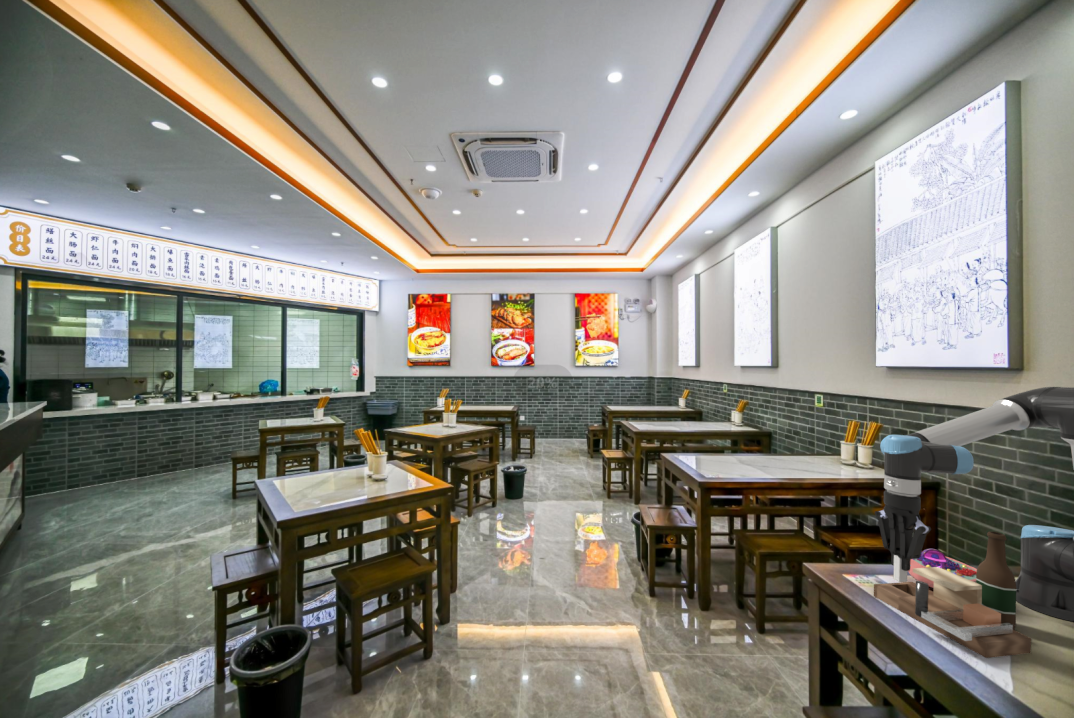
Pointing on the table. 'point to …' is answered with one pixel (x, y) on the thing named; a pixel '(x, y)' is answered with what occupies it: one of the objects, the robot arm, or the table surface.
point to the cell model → (940, 566)
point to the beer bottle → (997, 580)
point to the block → (980, 615)
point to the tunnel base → (951, 621)
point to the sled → (954, 618)
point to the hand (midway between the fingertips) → (900, 580)
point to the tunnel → (952, 586)
